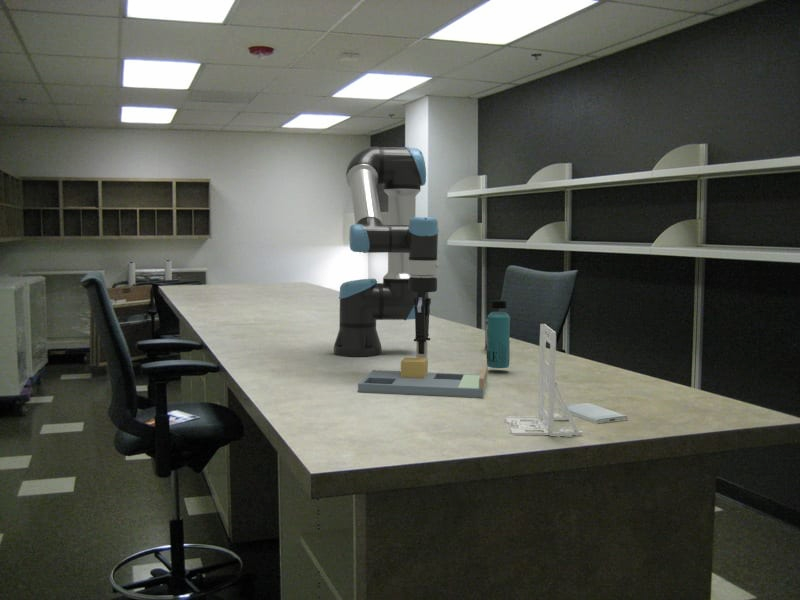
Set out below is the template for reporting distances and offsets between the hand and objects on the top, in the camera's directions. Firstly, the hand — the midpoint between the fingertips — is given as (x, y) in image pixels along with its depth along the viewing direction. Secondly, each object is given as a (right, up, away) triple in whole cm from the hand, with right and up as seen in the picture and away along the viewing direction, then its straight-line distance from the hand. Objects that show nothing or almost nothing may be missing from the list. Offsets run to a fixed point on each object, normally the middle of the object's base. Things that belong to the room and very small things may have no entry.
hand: (421, 365), depth 198 cm
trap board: (0, -4, -11) cm, 12 cm away
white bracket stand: (+22, -8, -48) cm, 54 cm away
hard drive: (+35, -8, -38) cm, 53 cm away
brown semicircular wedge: (+25, 0, +45) cm, 52 cm away
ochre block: (-2, -2, -7) cm, 7 cm away
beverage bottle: (+21, -3, +10) cm, 24 cm away
